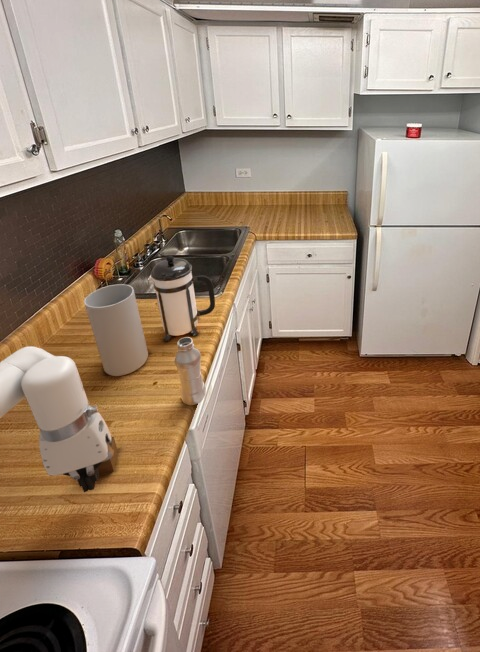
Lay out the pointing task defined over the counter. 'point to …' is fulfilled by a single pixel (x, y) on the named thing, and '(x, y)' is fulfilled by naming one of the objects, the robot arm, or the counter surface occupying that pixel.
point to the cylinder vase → (117, 328)
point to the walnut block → (109, 461)
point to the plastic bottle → (190, 372)
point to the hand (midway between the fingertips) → (90, 483)
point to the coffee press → (178, 296)
